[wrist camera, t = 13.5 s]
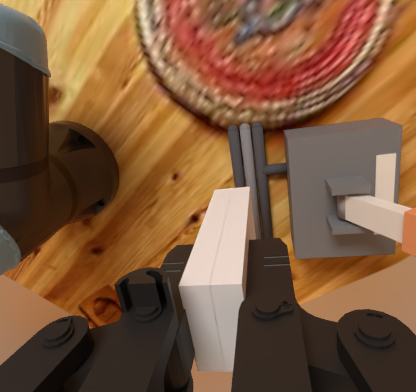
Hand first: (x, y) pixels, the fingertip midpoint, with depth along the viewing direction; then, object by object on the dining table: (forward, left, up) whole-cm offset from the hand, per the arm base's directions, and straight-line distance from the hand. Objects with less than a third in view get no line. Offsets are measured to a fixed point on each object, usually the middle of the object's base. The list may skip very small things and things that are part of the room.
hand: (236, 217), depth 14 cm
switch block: (+10, -10, -30) cm, 34 cm away
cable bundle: (+1, -10, -30) cm, 32 cm away
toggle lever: (+10, -10, -23) cm, 27 cm away
